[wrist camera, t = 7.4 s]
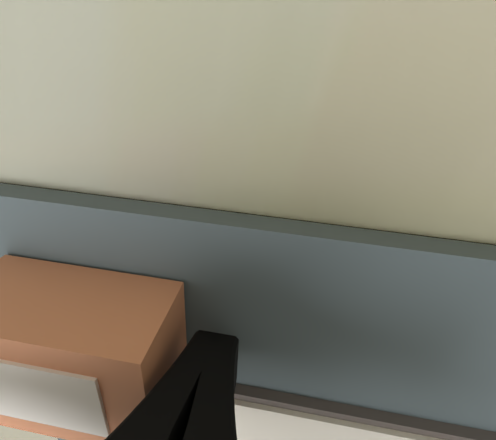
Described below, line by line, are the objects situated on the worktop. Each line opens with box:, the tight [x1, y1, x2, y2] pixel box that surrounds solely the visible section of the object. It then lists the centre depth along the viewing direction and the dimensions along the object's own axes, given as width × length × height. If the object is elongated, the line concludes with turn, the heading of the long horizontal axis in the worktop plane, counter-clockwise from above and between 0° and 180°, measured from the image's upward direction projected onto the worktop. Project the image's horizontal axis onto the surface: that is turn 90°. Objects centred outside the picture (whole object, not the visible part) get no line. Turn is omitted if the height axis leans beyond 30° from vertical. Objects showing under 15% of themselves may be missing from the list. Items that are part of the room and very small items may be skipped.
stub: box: [0, 255, 187, 440], centre depth 11 cm, size 4×6×3 cm, turn 87°
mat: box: [0, 183, 496, 440], centre depth 13 cm, size 16×27×1 cm, turn 87°
